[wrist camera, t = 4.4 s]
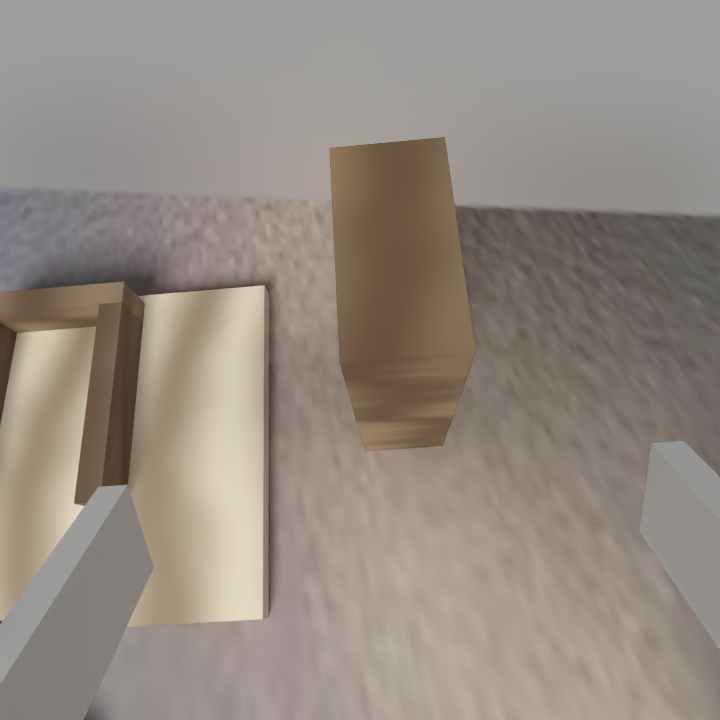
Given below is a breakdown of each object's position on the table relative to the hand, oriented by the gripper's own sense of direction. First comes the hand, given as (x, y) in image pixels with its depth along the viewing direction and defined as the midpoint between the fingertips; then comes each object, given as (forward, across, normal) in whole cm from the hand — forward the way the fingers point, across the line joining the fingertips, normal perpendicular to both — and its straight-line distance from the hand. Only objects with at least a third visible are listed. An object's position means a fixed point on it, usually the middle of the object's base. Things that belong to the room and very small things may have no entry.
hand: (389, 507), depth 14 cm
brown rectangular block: (+16, +1, -4) cm, 16 cm away
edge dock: (+14, -17, -6) cm, 23 cm away
